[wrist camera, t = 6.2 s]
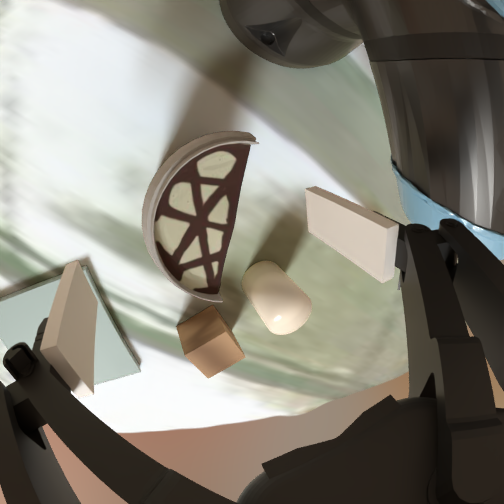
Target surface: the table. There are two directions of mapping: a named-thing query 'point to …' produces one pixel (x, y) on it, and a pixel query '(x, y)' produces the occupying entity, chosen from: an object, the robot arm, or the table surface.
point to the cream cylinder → (276, 297)
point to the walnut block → (209, 342)
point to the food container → (196, 210)
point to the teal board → (38, 307)
